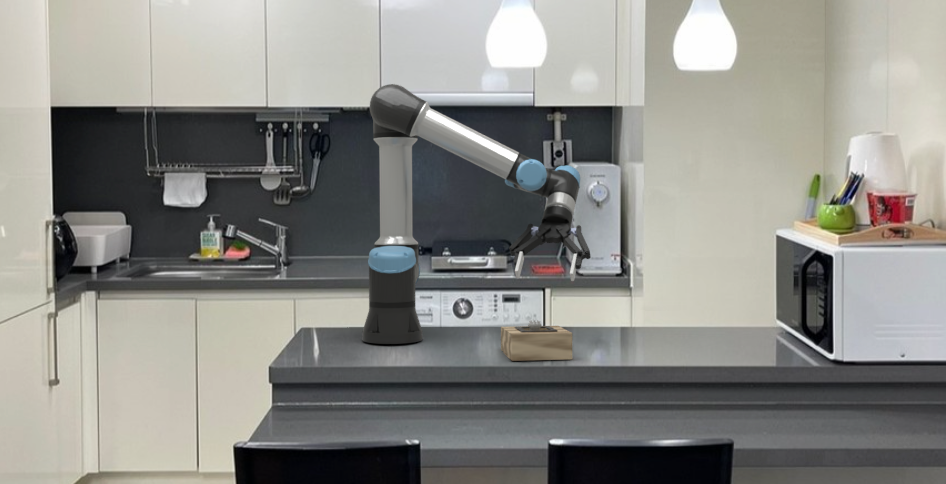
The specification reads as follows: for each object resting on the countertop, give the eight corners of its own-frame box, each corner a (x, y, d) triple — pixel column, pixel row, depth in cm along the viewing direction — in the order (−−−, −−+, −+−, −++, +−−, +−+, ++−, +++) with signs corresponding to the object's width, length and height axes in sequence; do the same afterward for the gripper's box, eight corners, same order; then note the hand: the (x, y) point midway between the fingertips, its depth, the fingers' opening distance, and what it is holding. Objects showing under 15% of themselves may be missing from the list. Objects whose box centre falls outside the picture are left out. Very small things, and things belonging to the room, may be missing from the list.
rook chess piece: (543, 357, 223) (543, 323, 222) (523, 356, 223) (524, 322, 223) (544, 353, 227) (545, 319, 226) (526, 352, 228) (526, 319, 227)
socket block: (500, 351, 231) (500, 325, 231) (557, 350, 233) (557, 324, 233) (511, 360, 217) (511, 332, 217) (572, 359, 219) (572, 331, 219)
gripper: (608, 226, 247) (596, 288, 233) (513, 223, 254) (497, 283, 240) (605, 205, 241) (593, 267, 228) (509, 202, 249) (492, 263, 235)
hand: (544, 276), depth 234 cm, fingers open, 13 cm apart
